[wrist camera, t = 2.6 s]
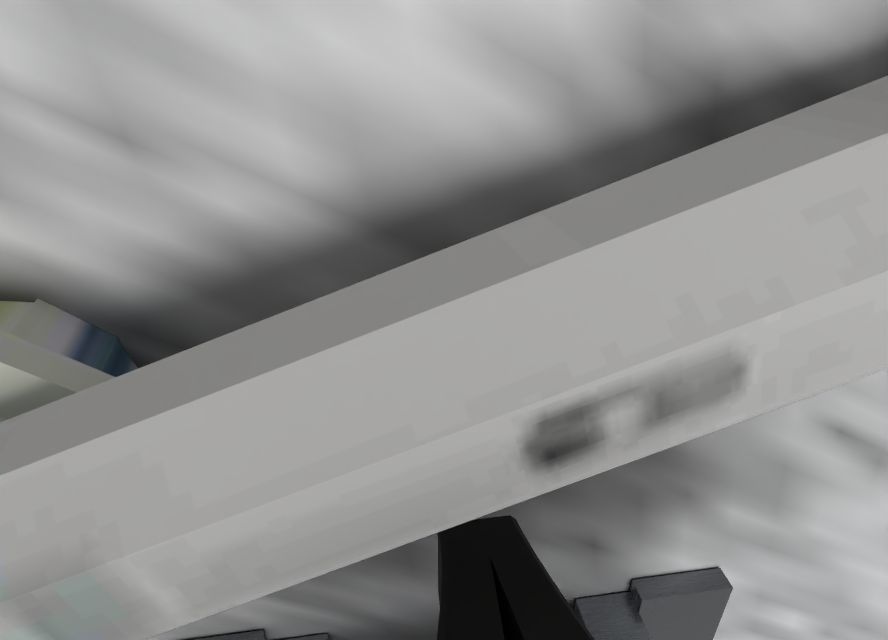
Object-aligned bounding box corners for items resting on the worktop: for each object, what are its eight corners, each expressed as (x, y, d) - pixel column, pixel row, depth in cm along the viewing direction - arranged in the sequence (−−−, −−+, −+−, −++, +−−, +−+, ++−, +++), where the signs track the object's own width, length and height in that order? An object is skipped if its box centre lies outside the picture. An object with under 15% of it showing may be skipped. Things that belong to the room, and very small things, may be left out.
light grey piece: (1487, 248, 8) (-466, 1173, 5) (983, 153, 14) (-94, 578, 11) (1857, -237, 6) (-1666, 1098, 3) (1044, -110, 11) (-358, 362, 8)
